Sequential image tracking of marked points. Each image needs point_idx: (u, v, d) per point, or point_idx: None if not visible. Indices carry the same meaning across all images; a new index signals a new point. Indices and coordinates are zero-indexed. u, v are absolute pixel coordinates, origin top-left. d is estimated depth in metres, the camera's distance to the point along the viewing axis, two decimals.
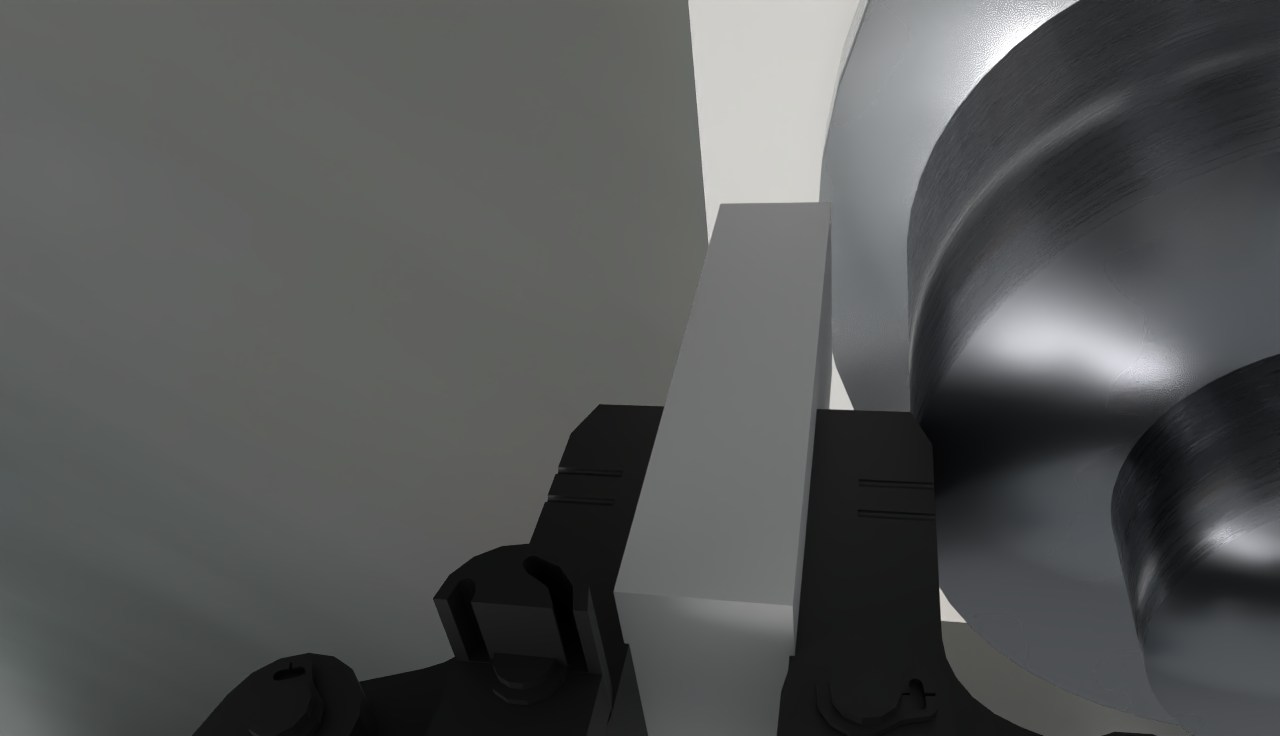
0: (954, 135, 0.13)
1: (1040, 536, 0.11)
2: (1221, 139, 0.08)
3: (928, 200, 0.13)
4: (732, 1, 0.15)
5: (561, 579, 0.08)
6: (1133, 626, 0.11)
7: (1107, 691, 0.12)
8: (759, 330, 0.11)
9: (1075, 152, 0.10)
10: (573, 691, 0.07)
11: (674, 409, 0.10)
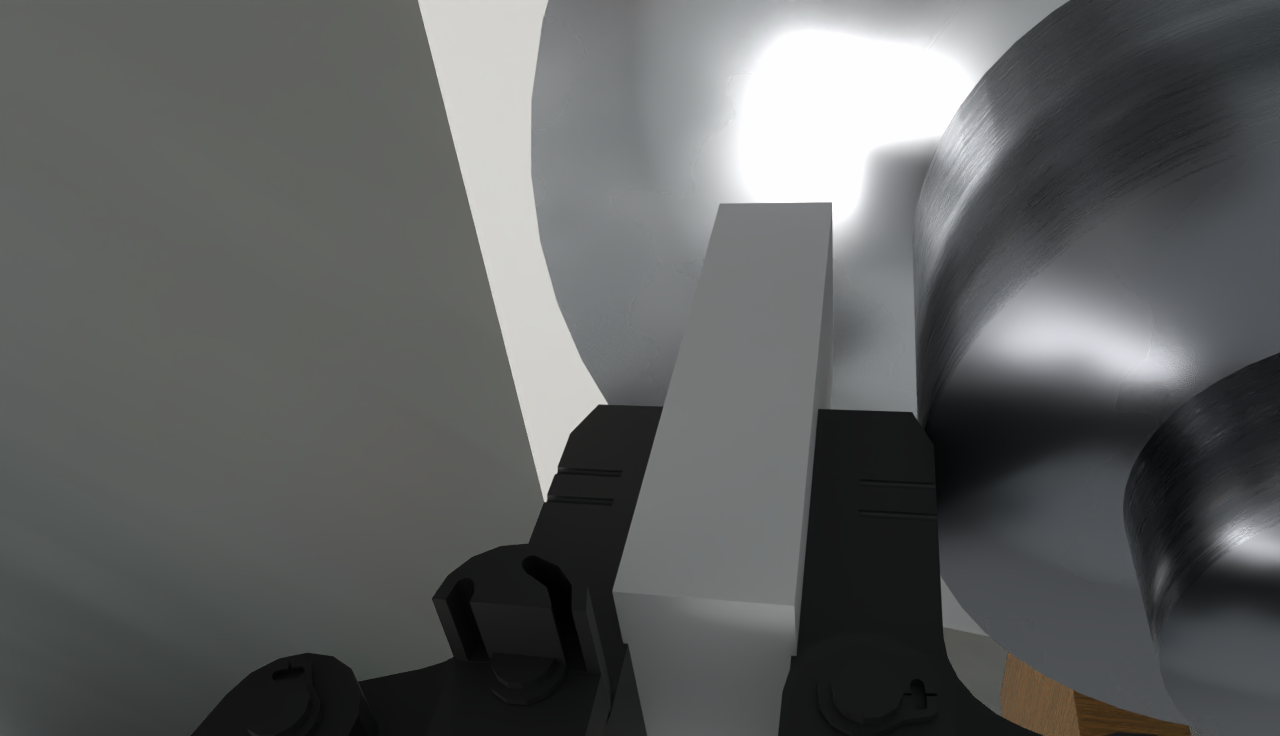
0: (957, 132, 0.13)
1: (1052, 537, 0.11)
2: (1227, 130, 0.08)
3: (932, 198, 0.13)
4: (461, 14, 0.16)
5: (560, 579, 0.08)
6: (1149, 628, 0.11)
7: (1124, 694, 0.12)
8: (760, 330, 0.11)
9: (1078, 146, 0.09)
10: (572, 691, 0.07)
11: (673, 409, 0.10)
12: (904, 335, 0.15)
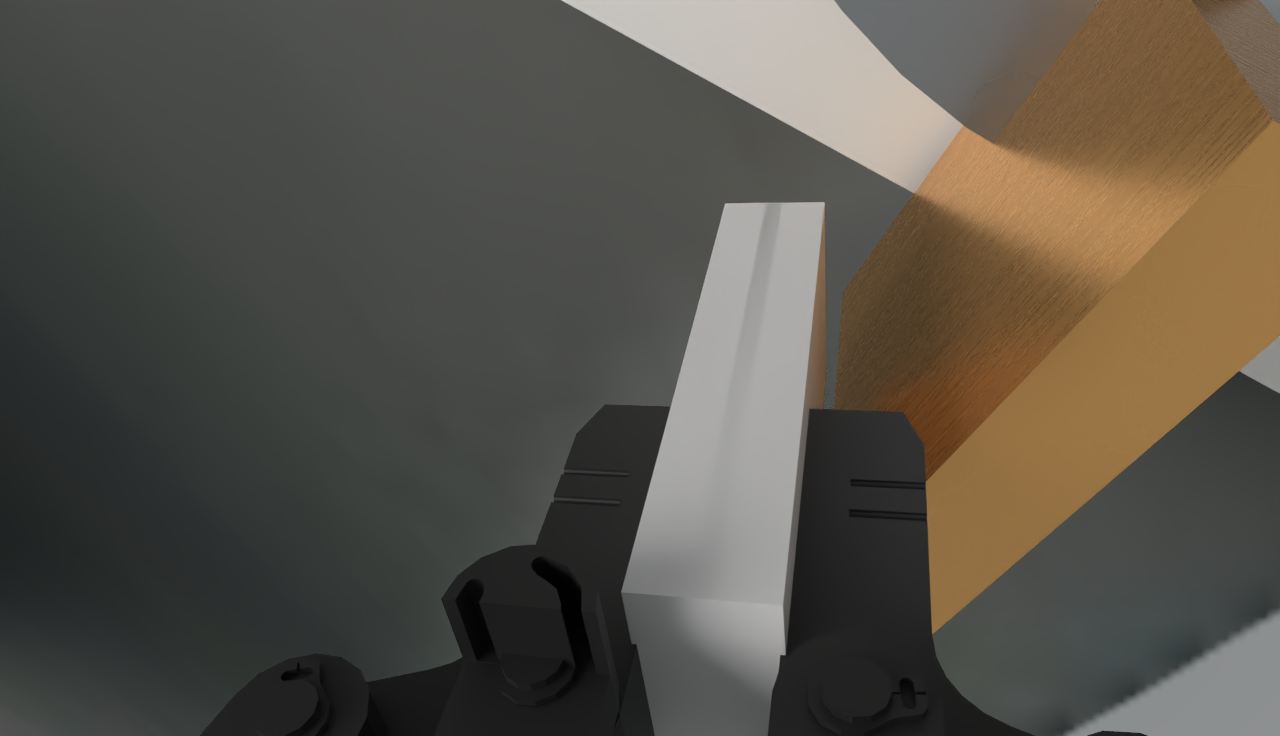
0: None
1: None
2: None
3: None
4: None
5: (569, 580, 0.07)
6: None
7: None
8: (752, 330, 0.11)
9: None
10: (581, 692, 0.07)
11: (681, 409, 0.10)
12: None
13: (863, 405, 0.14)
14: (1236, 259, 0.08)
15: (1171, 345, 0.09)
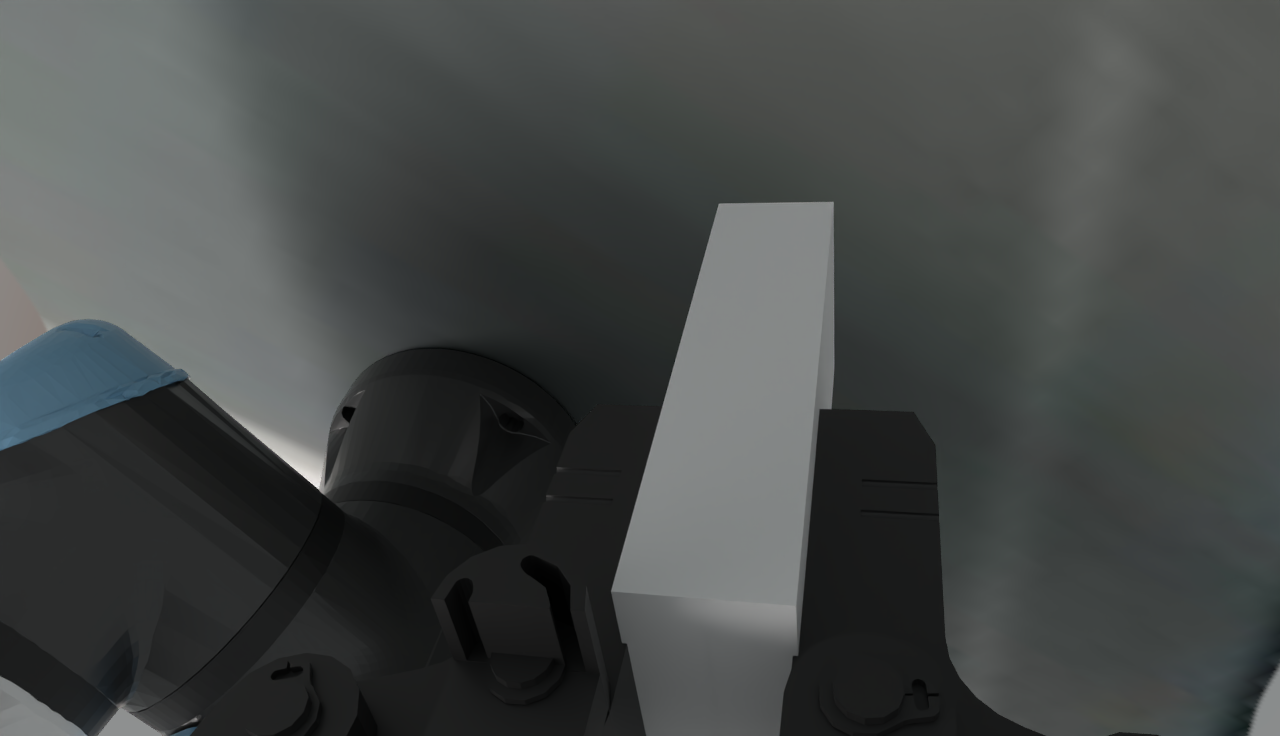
0: None
1: None
2: None
3: None
4: None
5: (558, 579, 0.08)
6: None
7: None
8: (762, 330, 0.11)
9: None
10: (570, 691, 0.07)
11: (672, 409, 0.10)
12: None
13: None
14: None
15: None
